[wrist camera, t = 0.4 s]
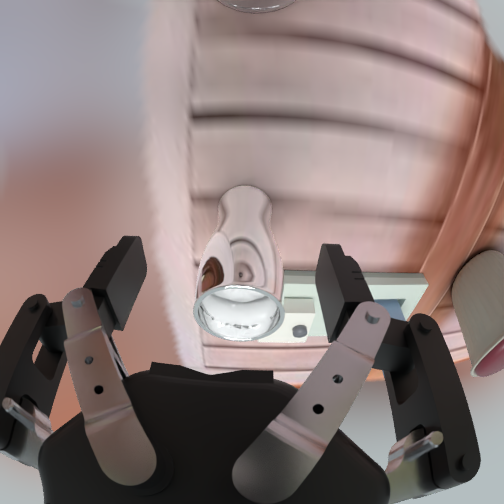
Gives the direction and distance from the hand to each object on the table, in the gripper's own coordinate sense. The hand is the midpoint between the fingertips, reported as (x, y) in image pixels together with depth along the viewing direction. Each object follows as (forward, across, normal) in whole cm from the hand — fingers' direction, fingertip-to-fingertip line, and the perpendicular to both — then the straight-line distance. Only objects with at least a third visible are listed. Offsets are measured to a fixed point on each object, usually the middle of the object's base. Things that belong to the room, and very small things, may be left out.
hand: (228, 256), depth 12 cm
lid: (+17, -6, +22) cm, 28 cm away
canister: (+19, -42, +16) cm, 49 cm away
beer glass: (+18, 0, +7) cm, 20 cm away
